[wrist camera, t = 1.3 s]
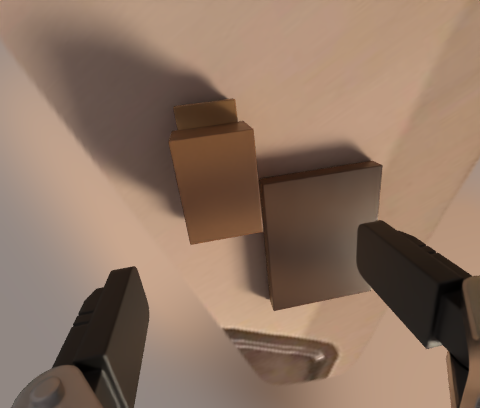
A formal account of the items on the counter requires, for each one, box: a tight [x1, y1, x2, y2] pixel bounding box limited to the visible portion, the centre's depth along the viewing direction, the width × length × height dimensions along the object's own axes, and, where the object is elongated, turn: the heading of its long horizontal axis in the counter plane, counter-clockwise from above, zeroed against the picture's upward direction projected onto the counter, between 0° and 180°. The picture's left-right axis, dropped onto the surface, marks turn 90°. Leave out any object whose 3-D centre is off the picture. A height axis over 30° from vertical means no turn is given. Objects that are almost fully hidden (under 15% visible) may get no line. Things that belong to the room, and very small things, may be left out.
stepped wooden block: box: [169, 99, 263, 245], centre depth 21 cm, size 10×5×5 cm, turn 7°
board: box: [259, 161, 382, 311], centre depth 26 cm, size 13×10×2 cm
